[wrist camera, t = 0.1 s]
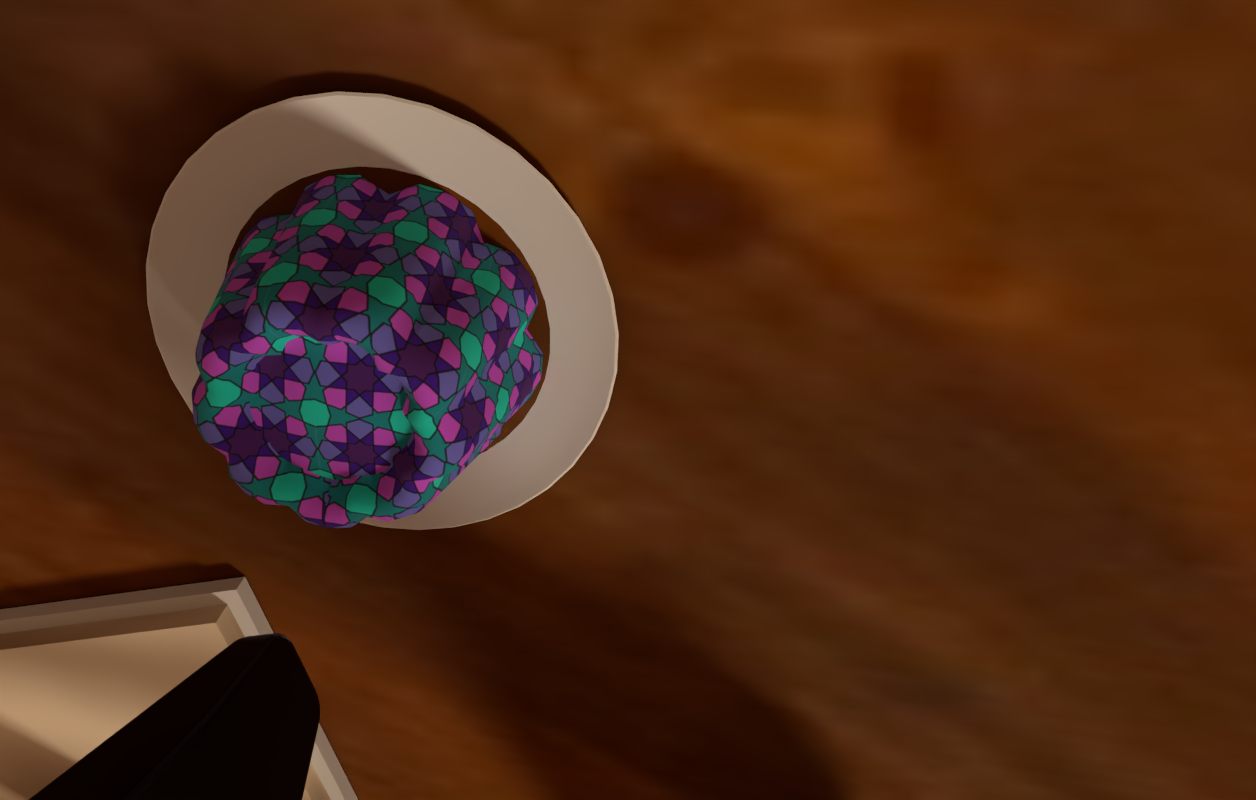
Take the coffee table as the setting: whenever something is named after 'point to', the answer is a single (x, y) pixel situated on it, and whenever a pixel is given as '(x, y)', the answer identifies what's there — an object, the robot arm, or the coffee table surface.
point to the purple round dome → (378, 315)
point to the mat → (171, 600)
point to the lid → (97, 687)
